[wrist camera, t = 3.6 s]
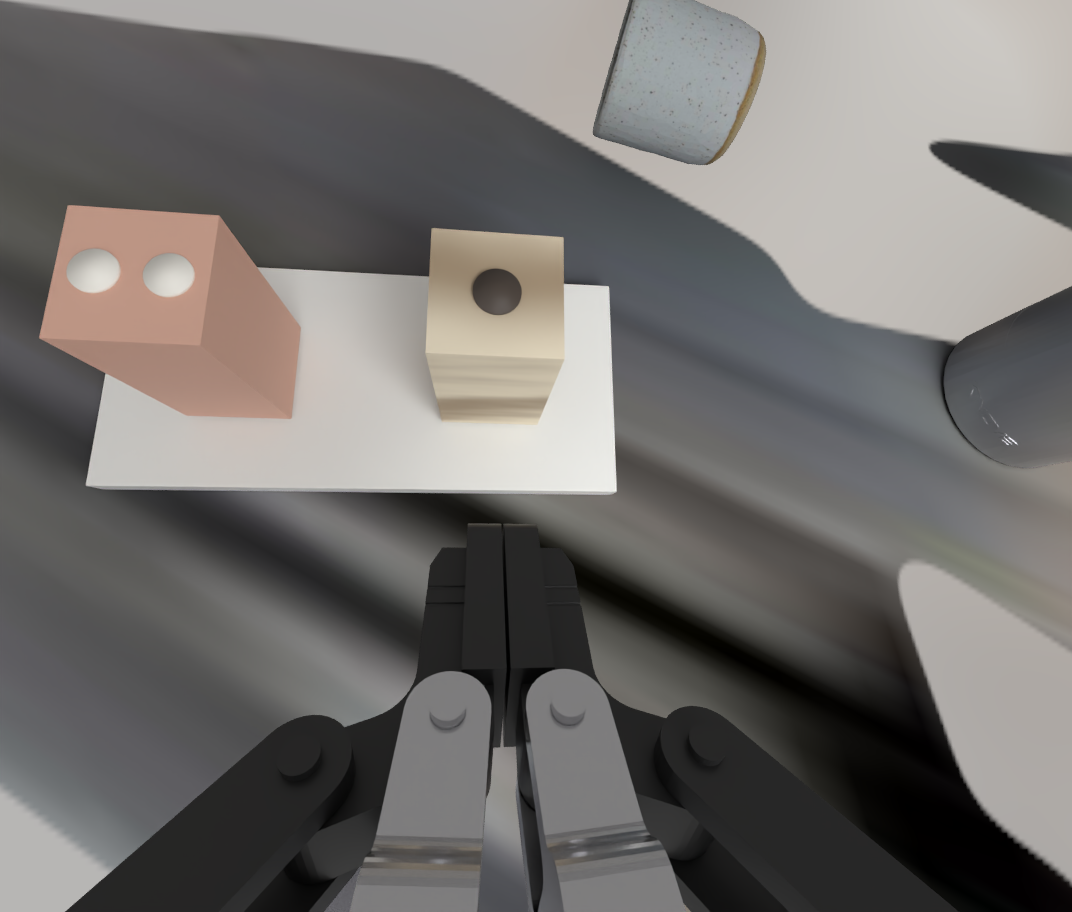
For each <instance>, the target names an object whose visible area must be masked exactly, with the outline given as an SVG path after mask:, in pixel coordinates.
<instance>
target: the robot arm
mask: <svg viewBox="0 0 1072 912" xmlns="http://www.w3.org/2000/svg"><path fill="white" fill-rule="evenodd" d="M944 390H945V398H946V401H947V404H948V407H949V410H950V413H951V415H952V417H953V419H954V421H955V422H956V424H957V426H958V428H959V429H960V430H961V432H962V433H963V434H964V435H965V437H966V438H967V439H968V440H969V441H970V442H971V443H972V444H973V445H974V446H975V447H976V448H977V449H978V450H980V451H981V452H982V453H984V454H986V455H987V456H989V457H990V458H992V459H993V460H996V461H998V462H1001V463H1003V464H1006V465H1008V466H1014V467H1019V468H1037V467H1042V466H1048V465H1053V464H1059V463H1064V462H1070V461H1072V286H1071V287H1069V288H1067V289H1065V290H1063V291H1061V292H1059V293H1056V294H1054V295H1052V296H1050V297H1048V298H1046V299H1044V300H1042V301H1040V302H1037V303H1035V304H1033V305H1031V306H1028V307H1026V308H1024V309H1022V310H1020V311H1018V312H1016V313H1014V314H1012V315H1010V316H1008V317H1006V318H1004V319H1001V320H1000V321H997V322H995V323H993V324H991V325H989V326H987V327H985V328H983V329H981V330H979V331H977V332H975V333H973V334H971V335H969V336H967V337H965V338H964V339H963V340H962V341H960V342H959V343H958V344H957V345H956V346H955V348H954V349H953V351H952V352H951V354H950V355H949V358H948V361H947V364H946V367H945V373H944ZM502 719H503V738H504V747H514V746H516V756H517V781H516V801H517V810H518V819H519V827H520V836H521V845H522V854H523V863H524V871H525V880H526V889H527V898H528V906H529V912H686V910H685V907H684V904H685V905H686V906H687V907H688V909H689V910H690V911H691V912H958V911H957V910H956V909H955V908H954V907H952V906H951V905H950V904H949V903H948V902H946V901H945V900H944V899H943V898H941V897H940V896H939V895H938V894H937V893H935V892H934V891H933V890H932V889H931V888H929V887H928V886H927V885H926V884H925V883H923V882H922V881H921V880H920V879H919V878H917V877H916V876H915V875H914V874H913V873H911V872H910V871H909V870H908V869H907V868H905V867H904V866H903V865H902V864H900V863H899V862H898V861H897V860H896V859H894V858H893V857H892V856H891V855H890V854H888V853H887V852H886V851H885V850H884V849H882V848H881V847H880V846H879V845H878V844H876V843H875V842H874V841H873V840H872V839H870V838H869V837H868V836H867V835H866V834H864V833H863V832H862V831H861V830H859V829H858V828H857V827H856V826H855V825H853V824H852V823H851V822H850V821H849V820H847V819H846V818H845V817H844V816H843V815H841V814H840V813H839V812H838V811H837V810H835V809H834V808H833V807H832V806H831V805H829V804H828V803H827V802H826V801H825V800H823V799H822V798H821V797H820V796H819V795H817V794H816V793H815V792H814V791H812V790H811V789H810V788H809V787H808V786H806V785H805V784H804V783H803V782H802V781H800V780H799V779H798V778H797V777H796V776H794V775H793V774H792V773H791V772H790V771H788V770H787V769H786V768H785V767H784V766H782V765H781V764H780V763H779V762H778V761H776V760H775V759H774V758H773V757H771V756H770V755H769V754H768V753H767V752H765V751H764V750H763V749H762V748H761V747H759V746H758V745H757V744H756V743H755V742H753V741H752V740H751V739H750V738H749V737H747V736H746V735H745V734H744V733H743V732H741V731H740V730H739V729H738V728H737V727H735V726H734V725H733V724H732V723H730V722H729V721H728V720H727V719H725V718H724V717H723V716H721V715H719V714H718V713H716V712H714V711H712V710H709V709H707V708H703V707H697V706H687V707H682V708H679V709H677V710H675V711H673V712H672V713H671V714H669V715H668V717H667V718H663V717H660V716H656V715H653V714H649V713H646V712H643V711H639V710H636V709H633V708H630V707H628V706H626V705H624V704H622V703H620V702H619V701H617V700H616V699H614V698H613V697H612V696H611V695H610V694H608V693H607V692H606V690H605V689H604V688H603V687H602V686H601V684H600V683H599V681H598V679H597V677H596V675H595V672H594V669H593V664H592V659H591V654H590V649H589V644H588V639H587V634H586V628H585V623H584V618H583V613H582V608H581V606H580V598H579V592H578V589H577V582H576V577H575V572H574V567H573V564H572V563H571V562H570V560H569V559H568V558H567V556H566V555H565V554H564V552H563V551H562V550H561V548H540V544H539V536H538V528H537V525H536V524H504V525H503V535H502V532H501V524H468V533H467V548H442V549H441V550H440V552H439V553H438V555H437V556H436V558H435V559H434V561H433V562H432V563H431V565H430V571H429V579H428V590H427V596H426V606H425V612H424V620H423V628H422V636H421V644H420V652H419V660H418V668H417V674H416V678H415V681H414V683H413V685H412V687H411V689H410V691H409V692H408V693H407V695H406V696H405V697H404V698H403V699H402V700H401V701H400V702H399V703H398V704H397V705H395V706H394V707H393V708H392V709H390V710H388V711H387V712H385V713H383V714H381V715H378V716H376V717H373V718H370V719H368V720H365V721H362V722H359V723H356V724H353V725H350V726H347V727H343V726H342V724H341V723H339V722H338V721H336V720H335V719H332V718H330V717H327V716H322V715H310V716H303V717H300V718H296V719H294V720H291V721H289V722H287V723H285V724H283V725H282V726H280V727H279V728H277V729H276V730H275V731H273V732H272V733H271V734H270V735H268V736H267V737H266V738H265V739H264V740H263V741H262V742H260V743H259V744H258V745H257V746H256V747H255V748H253V749H252V750H251V751H250V752H249V753H248V754H247V755H245V756H244V757H243V758H242V759H241V760H240V761H238V762H237V763H236V764H235V765H234V766H233V767H232V768H230V769H229V770H228V771H227V772H226V773H225V774H223V775H222V776H221V777H220V778H219V779H218V780H217V781H215V782H214V783H213V784H212V785H211V786H210V787H208V788H207V789H206V790H205V791H204V792H203V793H202V794H200V795H199V796H198V797H197V798H196V799H195V800H193V801H192V802H191V803H190V804H189V805H188V806H187V807H185V808H184V809H183V810H182V811H181V812H180V813H178V814H177V815H176V816H175V817H174V818H173V819H172V820H170V821H169V822H168V823H167V824H166V825H165V826H163V827H162V828H161V829H160V830H159V831H158V832H157V833H155V834H154V835H153V836H152V837H151V838H150V839H149V840H147V841H146V842H145V843H144V844H143V845H142V846H140V847H139V848H138V849H137V850H136V851H135V852H134V853H132V854H131V855H130V856H129V857H128V858H127V859H125V860H124V861H123V862H122V863H121V864H120V865H119V866H117V867H116V868H115V869H114V870H113V871H112V872H110V873H109V874H108V875H107V876H106V877H105V878H104V879H102V880H101V881H100V882H99V883H98V884H97V885H95V886H94V887H93V888H92V889H91V890H90V891H89V892H87V893H86V894H85V895H84V896H83V897H82V898H81V899H79V900H78V901H77V902H76V903H75V904H74V905H72V906H71V907H70V908H69V909H68V910H67V911H65V912H324V911H325V910H326V908H327V907H328V906H329V905H330V903H331V902H332V901H333V900H334V898H335V897H336V896H337V895H338V893H339V892H340V891H341V890H342V889H343V887H344V886H345V885H346V884H347V882H348V881H349V880H350V879H351V877H352V876H353V875H354V874H355V872H356V871H357V869H358V868H359V867H360V866H362V867H361V870H360V873H359V876H358V880H357V884H356V887H355V892H354V896H353V900H352V904H351V909H350V912H478V906H479V892H480V878H481V863H482V849H483V834H484V820H485V805H486V798H487V795H488V793H489V789H490V784H491V770H492V756H493V748H494V747H500V743H501V731H502Z"/></svg>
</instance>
